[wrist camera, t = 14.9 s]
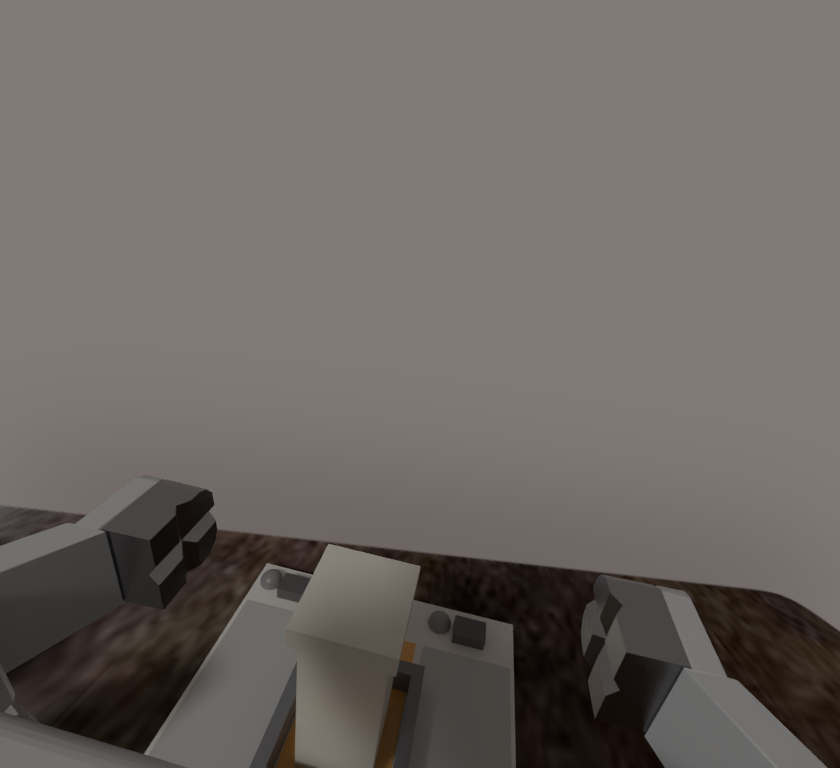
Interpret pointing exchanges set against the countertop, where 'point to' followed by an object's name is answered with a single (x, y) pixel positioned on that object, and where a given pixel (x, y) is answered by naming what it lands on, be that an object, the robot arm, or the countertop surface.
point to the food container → (20, 712)
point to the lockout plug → (348, 655)
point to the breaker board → (408, 707)
